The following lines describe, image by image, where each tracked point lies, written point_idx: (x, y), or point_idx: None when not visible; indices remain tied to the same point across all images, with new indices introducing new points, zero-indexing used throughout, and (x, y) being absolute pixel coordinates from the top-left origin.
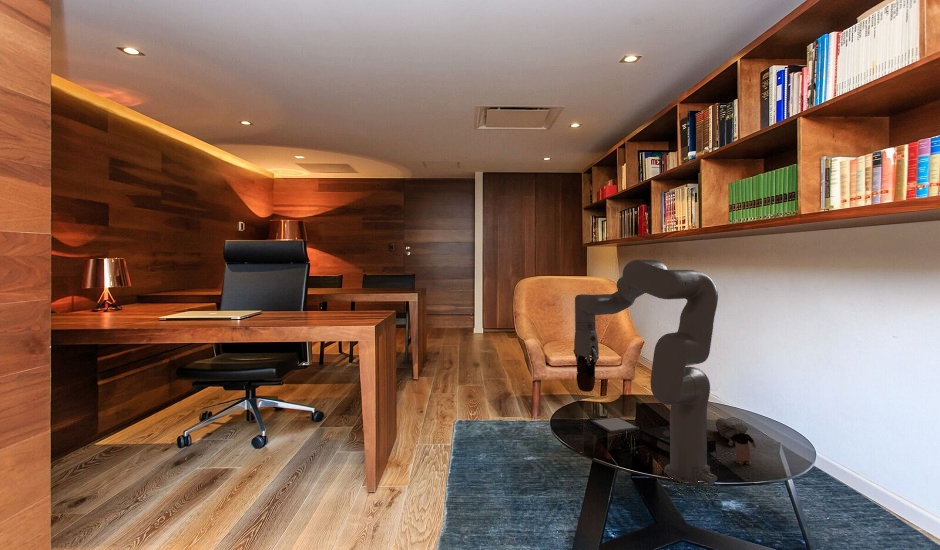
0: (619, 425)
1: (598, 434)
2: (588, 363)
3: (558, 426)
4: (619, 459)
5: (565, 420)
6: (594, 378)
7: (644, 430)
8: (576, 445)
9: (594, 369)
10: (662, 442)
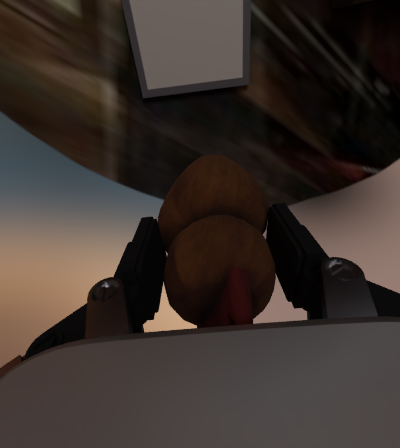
0: (208, 4)
1: (244, 128)
2: (315, 317)
3: None
4: (378, 157)
5: (129, 168)
6: (258, 185)
7: None
8: None
9: (301, 229)
10: None
